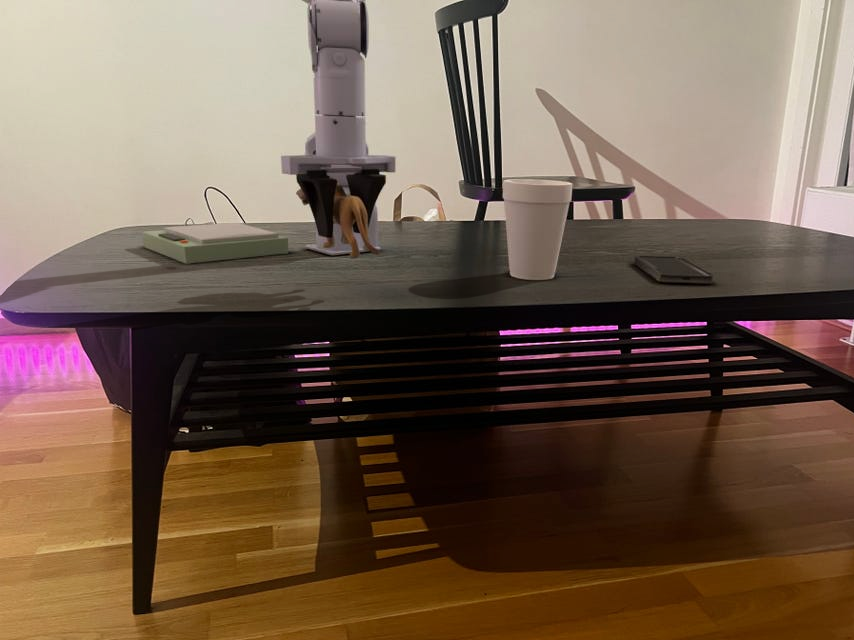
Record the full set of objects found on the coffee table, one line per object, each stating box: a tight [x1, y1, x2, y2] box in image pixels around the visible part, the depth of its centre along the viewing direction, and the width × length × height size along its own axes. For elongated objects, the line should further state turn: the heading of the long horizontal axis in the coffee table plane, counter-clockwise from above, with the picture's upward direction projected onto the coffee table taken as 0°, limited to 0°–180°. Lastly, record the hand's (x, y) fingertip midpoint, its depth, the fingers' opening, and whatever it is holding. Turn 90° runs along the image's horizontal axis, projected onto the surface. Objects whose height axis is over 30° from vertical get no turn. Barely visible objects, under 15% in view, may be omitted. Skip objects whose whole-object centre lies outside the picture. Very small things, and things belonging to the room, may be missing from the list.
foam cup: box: [502, 178, 573, 281], centre depth 98 cm, size 10×9×13 cm
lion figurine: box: [295, 176, 381, 260], centre depth 84 cm, size 15×5×9 cm, turn 42°
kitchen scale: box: [142, 222, 289, 265], centre depth 108 cm, size 16×16×3 cm
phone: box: [633, 255, 714, 285], centre depth 105 cm, size 8×1×15 cm
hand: (343, 234), depth 85 cm, fingers closed on lion figurine, 4 cm apart
